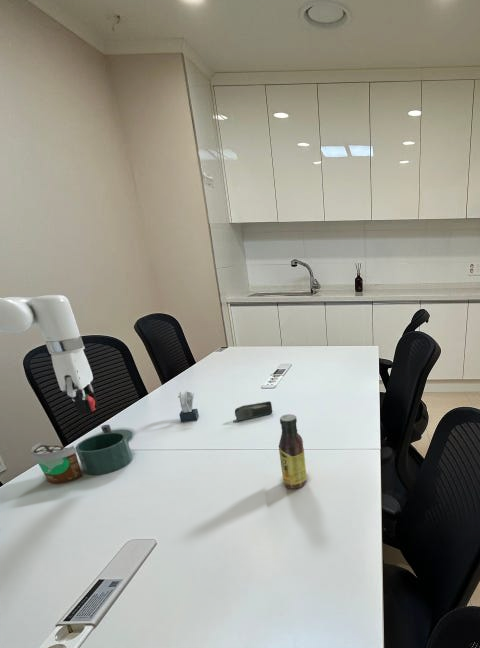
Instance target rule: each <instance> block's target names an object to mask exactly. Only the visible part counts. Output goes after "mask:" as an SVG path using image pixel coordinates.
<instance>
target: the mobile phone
mask: <svg viewBox="0 0 480 648" xmlns="http://www.w3.org/2000/svg"><path fill="white" fill-rule="evenodd" d="M272 413H273V405H272V402H271V401H269V400H268V401H262V402H256V403H252V404H245V405H241V406H239V407H236V408H235V410H234V416H235V418H236V419H233V420H232V422H233V423H236V422H239V421H243V420H245V421H246V420H250V419H254V418H260V417H264V416H269V415H271V414H272Z"/></svg>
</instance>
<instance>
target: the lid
mask: <svg viewBox="0 0 480 648" xmlns="http://www.w3.org/2000/svg"><path fill="white" fill-rule="evenodd" d="M100 428H101V431H102V432H101V433H98V434H97V435H99V434H103V433H111V432H120V433H123V434H125V436H126V438H127V441H128V442H129V440H131V438H132V437H133V432H132V431H131V430H129V429H113V430H112V427H111V426H110V424H104V425H101V426H100Z"/></svg>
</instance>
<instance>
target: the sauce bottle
mask: <svg viewBox="0 0 480 648" xmlns="http://www.w3.org/2000/svg"><path fill="white" fill-rule="evenodd" d="M297 422H298V421H297V416H296V415H295V414H292V413H289V414H284V415H282V416H280V418H279V424H280V427H281V428H280V429H281V435H280V440H279V443H278V452H279V460H280V468H281V473H282V481H283V484H284V486H285V487H286V488H287V489H299V488H302V487H303V486H305V485H306V483H307V467H306V457H305V448H304V441H303V438H302V436H301V435H300V434H299V433H298V428H297V427H298V426H297Z"/></svg>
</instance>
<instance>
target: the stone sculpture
mask: <svg viewBox="0 0 480 648" xmlns="http://www.w3.org/2000/svg"><path fill="white" fill-rule="evenodd" d="M194 397H195V395H194V392H192V391H191V390H181V391H179V393H178V396H177V398H178V399H179V403H180V408H181V411H180V412H179V419H180V423H188V422H197V421H198V420H199V417H200V415H199V410H198V408H193V402H194Z"/></svg>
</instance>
